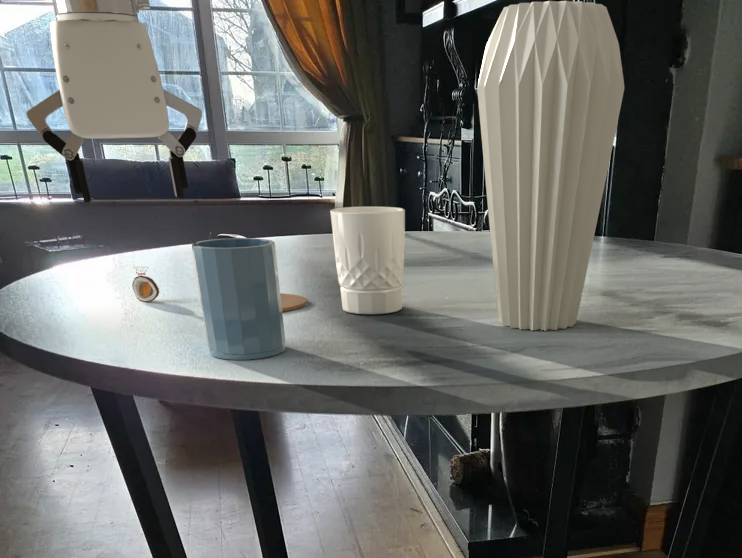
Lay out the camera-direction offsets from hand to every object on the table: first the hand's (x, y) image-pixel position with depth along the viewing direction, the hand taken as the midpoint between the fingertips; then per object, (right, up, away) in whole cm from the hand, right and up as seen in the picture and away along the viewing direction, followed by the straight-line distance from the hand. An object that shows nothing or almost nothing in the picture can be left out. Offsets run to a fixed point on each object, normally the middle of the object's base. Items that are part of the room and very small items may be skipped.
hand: (134, 199), depth 86 cm
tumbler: (+16, -21, -15) cm, 31 cm away
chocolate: (0, -9, +5) cm, 11 cm away
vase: (+44, -15, -5) cm, 47 cm away
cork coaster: (+13, -10, +3) cm, 17 cm away
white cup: (+26, -12, +1) cm, 29 cm away
